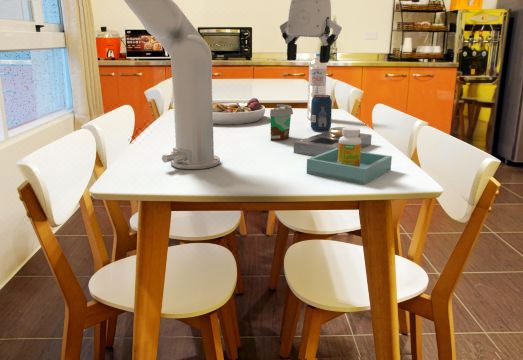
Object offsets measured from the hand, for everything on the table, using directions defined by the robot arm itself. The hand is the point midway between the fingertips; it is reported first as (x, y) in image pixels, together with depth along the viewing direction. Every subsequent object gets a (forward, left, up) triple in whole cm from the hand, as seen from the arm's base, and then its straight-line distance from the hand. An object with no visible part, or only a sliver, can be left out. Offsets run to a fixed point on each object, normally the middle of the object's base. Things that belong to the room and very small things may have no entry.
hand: (307, 61), depth 120 cm
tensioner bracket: (+17, +1, -25) cm, 31 cm away
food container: (+20, +21, -26) cm, 39 cm away
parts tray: (-3, -14, -25) cm, 29 cm away
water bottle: (+58, +31, -26) cm, 71 cm away
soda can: (+39, +18, -26) cm, 50 cm away
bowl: (+37, +59, -26) cm, 74 cm away
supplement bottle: (-3, -14, -25) cm, 29 cm away
